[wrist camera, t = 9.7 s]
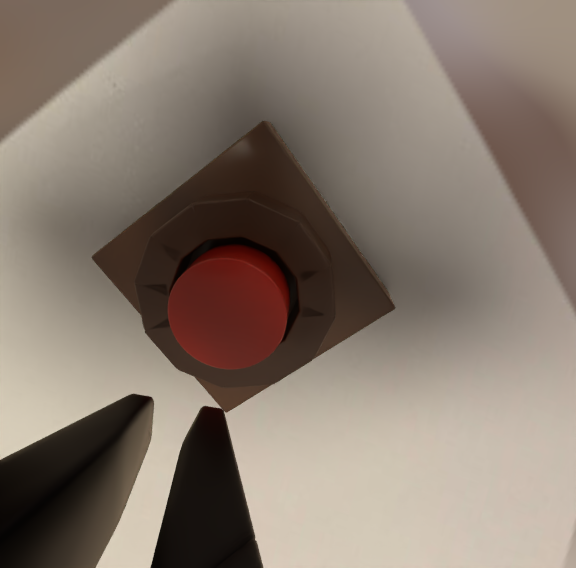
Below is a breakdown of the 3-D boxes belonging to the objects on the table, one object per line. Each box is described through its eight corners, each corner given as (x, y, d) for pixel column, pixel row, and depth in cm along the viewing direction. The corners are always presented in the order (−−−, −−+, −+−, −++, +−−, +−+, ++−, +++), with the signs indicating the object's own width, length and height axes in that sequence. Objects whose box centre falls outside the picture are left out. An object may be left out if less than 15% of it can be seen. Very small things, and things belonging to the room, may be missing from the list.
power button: (245, 222, 14) (236, 233, 13) (311, 309, 15) (311, 330, 13) (161, 283, 15) (142, 302, 14) (227, 363, 16) (217, 389, 14)
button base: (269, 120, 16) (257, 118, 13) (389, 293, 18) (405, 329, 15) (109, 246, 18) (63, 271, 15) (233, 391, 20) (216, 442, 17)
